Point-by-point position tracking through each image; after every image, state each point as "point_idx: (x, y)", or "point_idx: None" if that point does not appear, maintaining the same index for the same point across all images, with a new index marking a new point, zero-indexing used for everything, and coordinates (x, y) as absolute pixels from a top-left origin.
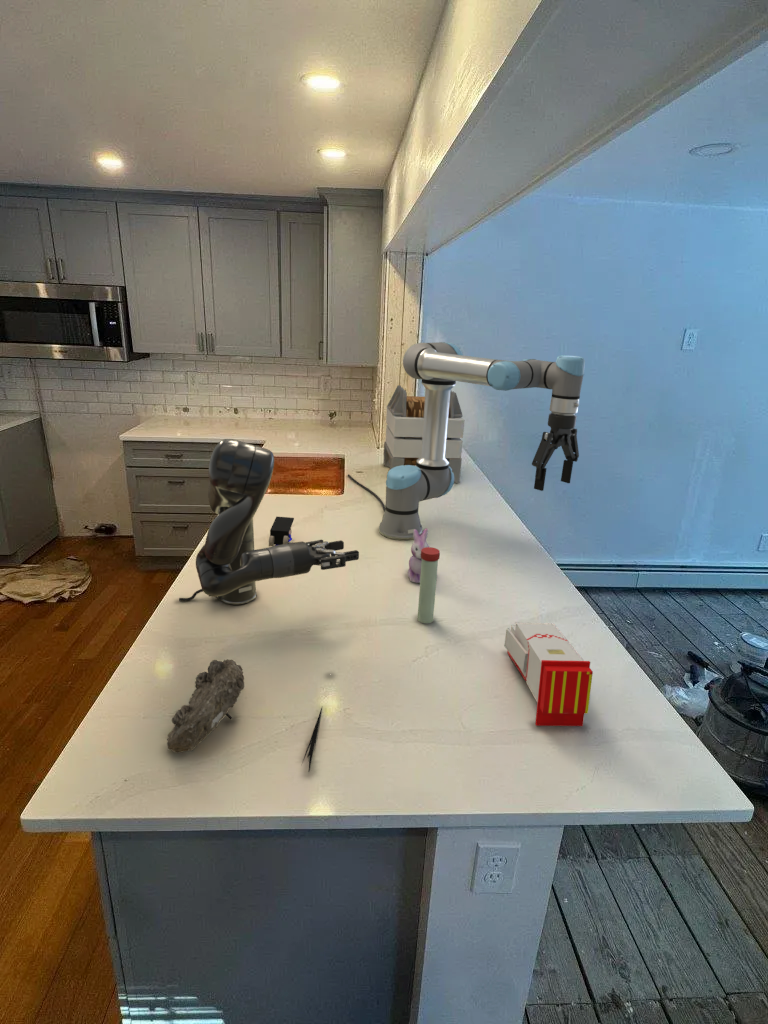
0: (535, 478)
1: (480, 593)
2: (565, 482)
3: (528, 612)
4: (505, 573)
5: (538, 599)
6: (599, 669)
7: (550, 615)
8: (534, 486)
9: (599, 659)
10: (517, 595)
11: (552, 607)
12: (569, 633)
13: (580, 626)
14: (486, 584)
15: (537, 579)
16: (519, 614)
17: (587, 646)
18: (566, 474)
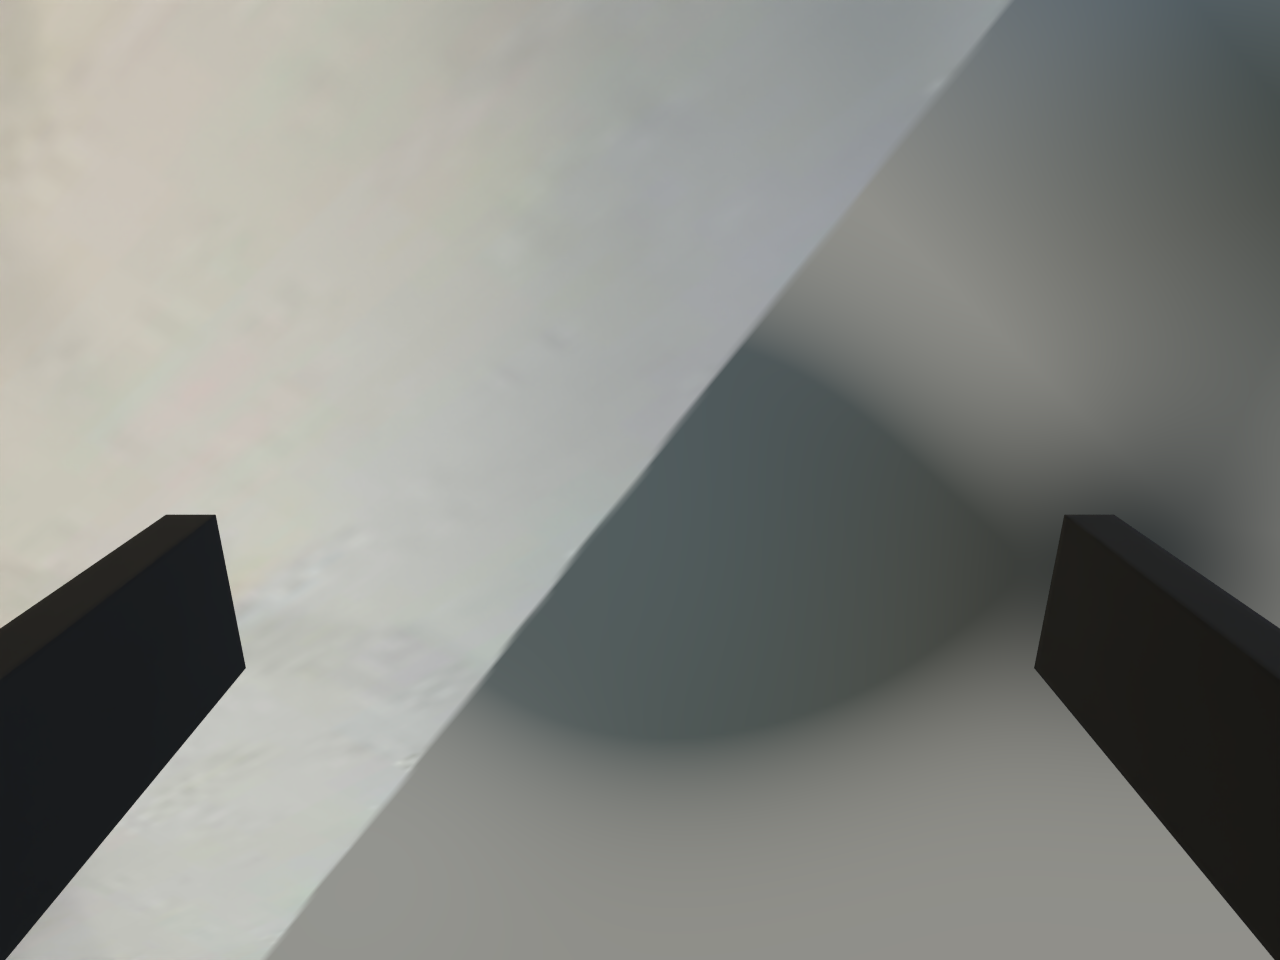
0: (21, 621)
1: (106, 280)
2: (1045, 611)
3: None
4: (440, 193)
5: (357, 513)
6: (152, 911)
7: (285, 632)
8: (143, 539)
9: (203, 887)
10: (288, 422)
11: (355, 597)
12: (242, 750)
13: (331, 748)
14: (216, 223)
15: (549, 371)
16: None
17: (232, 829)
18: (1136, 702)
